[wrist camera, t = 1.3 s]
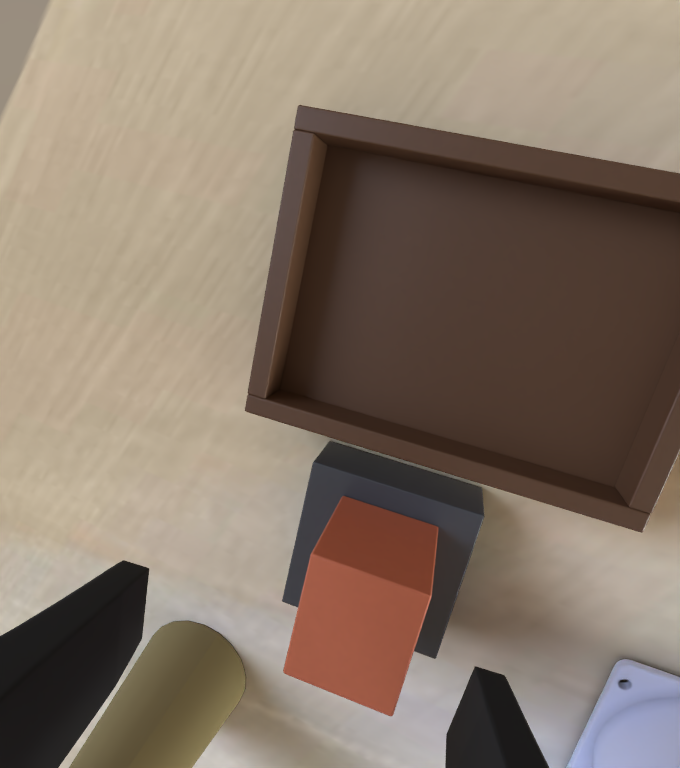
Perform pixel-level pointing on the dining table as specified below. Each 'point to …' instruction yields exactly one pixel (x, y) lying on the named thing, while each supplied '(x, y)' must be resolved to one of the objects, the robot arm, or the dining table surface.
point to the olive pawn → (168, 702)
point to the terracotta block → (363, 604)
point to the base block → (400, 495)
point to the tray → (478, 311)
